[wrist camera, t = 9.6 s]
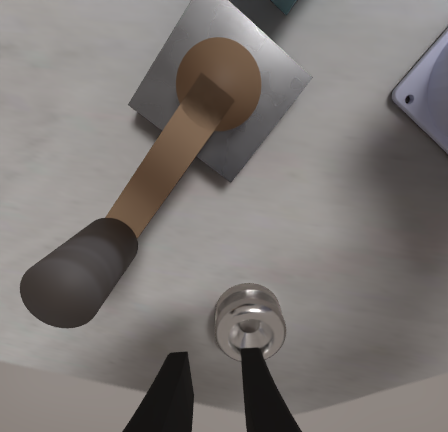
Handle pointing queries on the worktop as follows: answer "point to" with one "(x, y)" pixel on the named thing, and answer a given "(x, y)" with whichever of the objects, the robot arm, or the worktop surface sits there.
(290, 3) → the tray
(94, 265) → the crank lever
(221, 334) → the metal wheel
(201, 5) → the wooden and grey pieces
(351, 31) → the worktop surface
